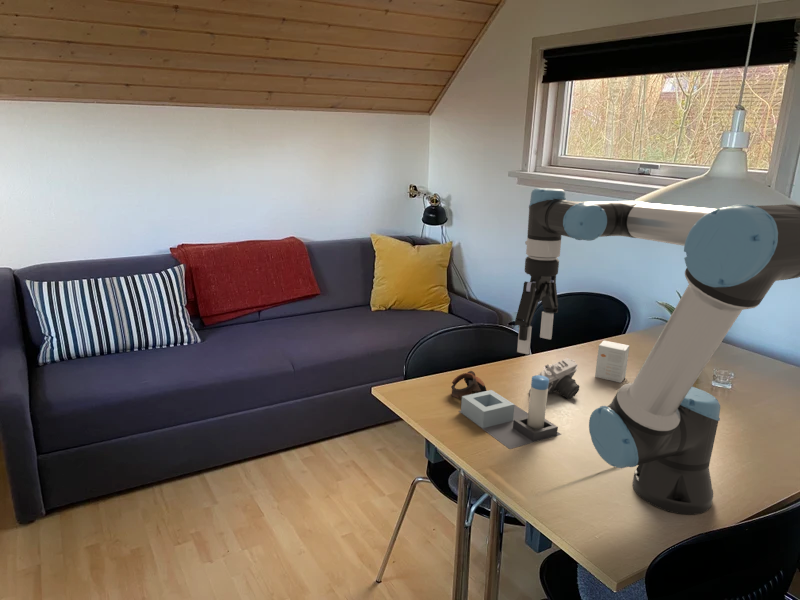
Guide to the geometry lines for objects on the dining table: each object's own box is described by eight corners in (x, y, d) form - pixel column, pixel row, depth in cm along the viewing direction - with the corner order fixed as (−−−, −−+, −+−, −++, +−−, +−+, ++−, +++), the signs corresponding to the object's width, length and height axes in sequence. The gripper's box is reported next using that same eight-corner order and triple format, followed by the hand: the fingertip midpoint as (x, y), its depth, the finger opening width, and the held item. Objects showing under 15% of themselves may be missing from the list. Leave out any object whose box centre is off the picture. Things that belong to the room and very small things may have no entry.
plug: (546, 433, 144) (552, 380, 140) (533, 436, 142) (539, 383, 138) (535, 426, 147) (541, 374, 144) (523, 429, 146) (528, 376, 142)
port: (513, 420, 150) (514, 404, 149) (482, 428, 145) (484, 411, 144) (490, 405, 158) (491, 389, 157) (460, 412, 153) (461, 396, 152)
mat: (561, 437, 144) (561, 434, 144) (509, 452, 136) (509, 449, 136) (506, 402, 162) (506, 399, 161) (458, 413, 154) (458, 411, 154)
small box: (625, 377, 181) (630, 345, 178) (621, 383, 177) (626, 350, 174) (599, 371, 185) (603, 339, 183) (594, 377, 181) (598, 344, 178)
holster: (556, 435, 143) (557, 426, 143) (533, 441, 140) (534, 433, 139) (536, 421, 150) (537, 413, 149) (512, 427, 146) (513, 419, 146)
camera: (524, 391, 166) (538, 365, 160) (558, 375, 176) (573, 350, 170) (547, 414, 161) (564, 388, 155) (581, 397, 171) (597, 371, 165)
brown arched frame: (491, 408, 159) (479, 386, 155) (459, 418, 162) (446, 397, 158) (489, 380, 169) (478, 359, 166) (458, 390, 172) (447, 369, 168)
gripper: (547, 248, 147) (540, 329, 152) (503, 262, 127) (497, 356, 132) (576, 251, 143) (568, 335, 148) (536, 267, 123) (528, 363, 128)
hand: (534, 345), depth 140 cm, fingers open, 13 cm apart
